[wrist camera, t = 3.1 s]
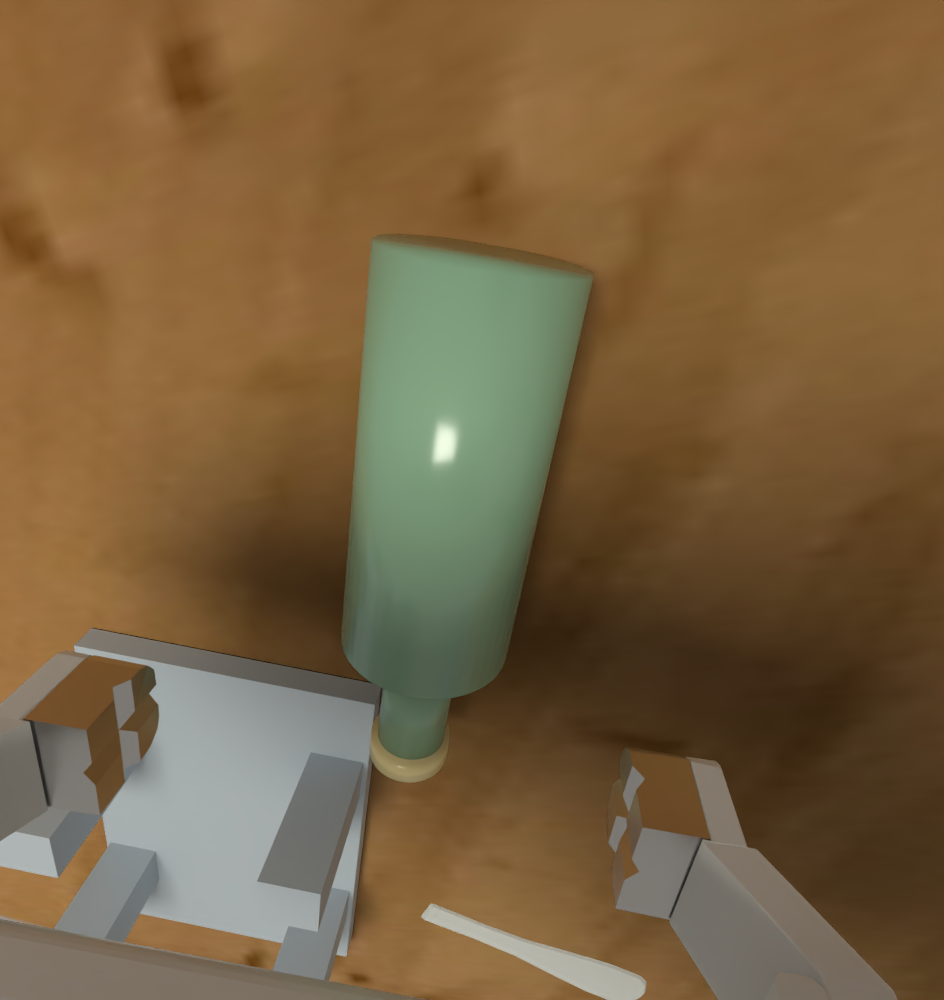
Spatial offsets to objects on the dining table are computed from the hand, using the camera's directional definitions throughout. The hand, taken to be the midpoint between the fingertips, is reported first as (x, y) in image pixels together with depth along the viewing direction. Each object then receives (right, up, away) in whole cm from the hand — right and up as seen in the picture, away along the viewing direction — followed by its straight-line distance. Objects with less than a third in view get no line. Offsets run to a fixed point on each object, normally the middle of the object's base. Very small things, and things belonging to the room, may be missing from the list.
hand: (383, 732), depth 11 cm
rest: (-8, -9, +16) cm, 20 cm away
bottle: (+1, +4, +9) cm, 10 cm away
